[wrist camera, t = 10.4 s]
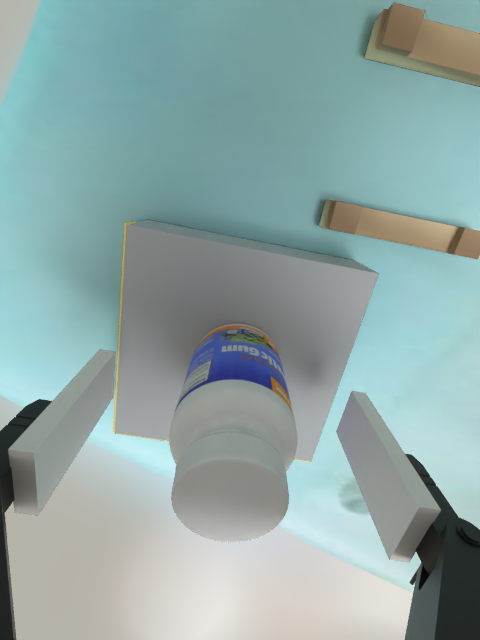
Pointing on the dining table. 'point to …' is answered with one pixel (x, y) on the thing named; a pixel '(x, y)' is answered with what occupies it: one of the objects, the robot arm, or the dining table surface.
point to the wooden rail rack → (432, 58)
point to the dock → (231, 319)
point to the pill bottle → (233, 437)
